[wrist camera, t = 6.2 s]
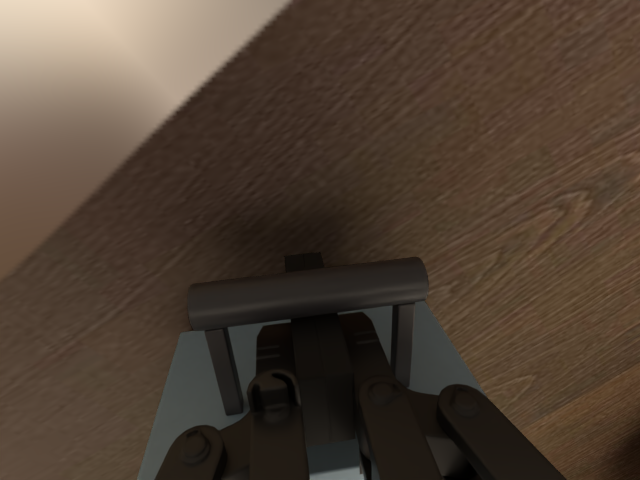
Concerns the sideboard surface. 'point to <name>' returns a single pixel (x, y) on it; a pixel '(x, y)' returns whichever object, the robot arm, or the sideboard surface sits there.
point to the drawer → (280, 307)
